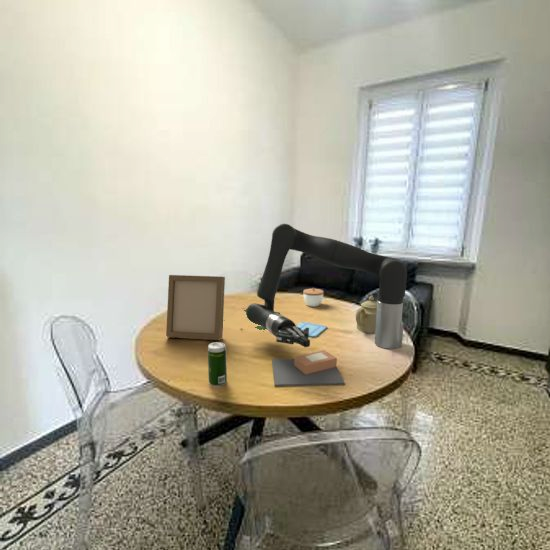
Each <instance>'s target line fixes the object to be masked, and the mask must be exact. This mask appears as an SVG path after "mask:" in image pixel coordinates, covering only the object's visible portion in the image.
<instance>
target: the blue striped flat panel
mask: <svg viewBox="0 0 550 550" xmlns="http://www.w3.org/2000/svg"><path fill="white" fill-rule="evenodd" d="M296 327H299V328H301V330H304V329H305V328H309V337H308V338H312V339H313V338H317V337H318V336H319V335H321V334H322V333H323V332H324V331H326V330H327V329H328V326H326V325H323V324H322V325H321V324H318V323H317V324H316V323H311V322H306V321H301V322H300V323H298V324H297V325H296ZM302 334H303V333H302Z"/></svg>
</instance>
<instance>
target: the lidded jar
mask: <svg viewBox="0 0 550 550" xmlns="http://www.w3.org/2000/svg"><path fill="white" fill-rule="evenodd" d="M302 292H303V301H304V303H305V304H306V305H307V306H308V307H312V308H314V307H315V308H316V307H319V306H320V305H321V304H322V302H323V299H324V294H325V293H324V292H325V291H324V290H323V289H320V288H315V287H312V288H305V289H303V291H302Z"/></svg>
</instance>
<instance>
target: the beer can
mask: <svg viewBox="0 0 550 550" xmlns="http://www.w3.org/2000/svg"><path fill="white" fill-rule="evenodd" d="M227 368H228V367H227V347H226V344H225V343H224V342H220V341H219V342H218V341H217V342H211V343H209V344H208V346H207V369H208V371H207V373H208V382H209V385H212V387H214V386H215V388H217V387H219V386H220V387H222V386H225V385H226V383H227V381H228V373H227V372H228V371H227V370H228V369H227ZM224 384H225V385H224Z"/></svg>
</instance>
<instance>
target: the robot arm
mask: <svg viewBox="0 0 550 550" xmlns="http://www.w3.org/2000/svg"><path fill="white" fill-rule="evenodd" d="M271 234H272V235H271V242H270V243H271V244H270V247H269V254H268V258H267V262H266V265H265V267H264V271H263V274H262V276H261V280H260V282H259V285H258V289H257V293H256V295H257V297H258V298H259V299H261V300H264V304H260V303H251V304H249V305H248V306H247V308H246V309H247V310H246V315H247V318H248V319H249V320H250V321H251V322H253V323H255V324H258V325H261V326H263V327H264V328H266V330H267V331H268V332H269V333H270V334H272V335H273V336H275V339H276V343H281V344H282V343H283V344H287V345H294V344H296V345H300V346H302V347H304V348H308V347H310V346H311V339H309V338H310V337H309V328H305V329H304V330H301V328H299V327H296V326H297V325H296V323H295V322H294V321H293V320H291V319H290V318H288V317H286V316H285V315H282V314H281V313H280V314H278V313H276V312H277V311H275V308H274V307H275V299H276V294H277V291H278V287H279V285H280V281H281V276H282V272H283V267H284V263H285V261H286V258H287V255H288V253H289V251H290V250H292V251H296V252H301V253H305V254H306V255H309V256H311V257H314V258H315V259H317V260H319V261H322V262H325V263H327V264H330V265H333V266H336V267H338V268H342V269H343V268H344V269H349V270H358V271H363V272H367V273H370V274H372V275H374V276H377V277H379V285H378V287H379V288H378V293H377V298H376V299H377V300H376V302H377V313H376V328H375V333H374V344H375V345H376V346H377V347H380V348H384V349H388V350H389V349H398V348H402V347H403V334H404V322H403V320H402V318H403V305H404V298H405V296H406V289H407V288H406V287H407V277H408V270H407V267H406V265H405V264H404V263H403V262H402V261H401V260H400V259H398V258H395V257H390V256H386V255H380V254H376V253H372V252H369V251H366V250H365V249H362V248H359V247H357V246H355V245H352V244H349V243H346V242H343V241H341V240H338V239H337V240H336V239H334V238H329V237H324V236H318V235H317V236H315V235H312V234H309V233H305V232H303V231H301V230H299V229H296V228H294V227H293V226H292V225H290V224H288V223H280V224H278V225H276V227H274V229H273V230H272V233H271ZM302 333H303V334H302Z"/></svg>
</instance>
